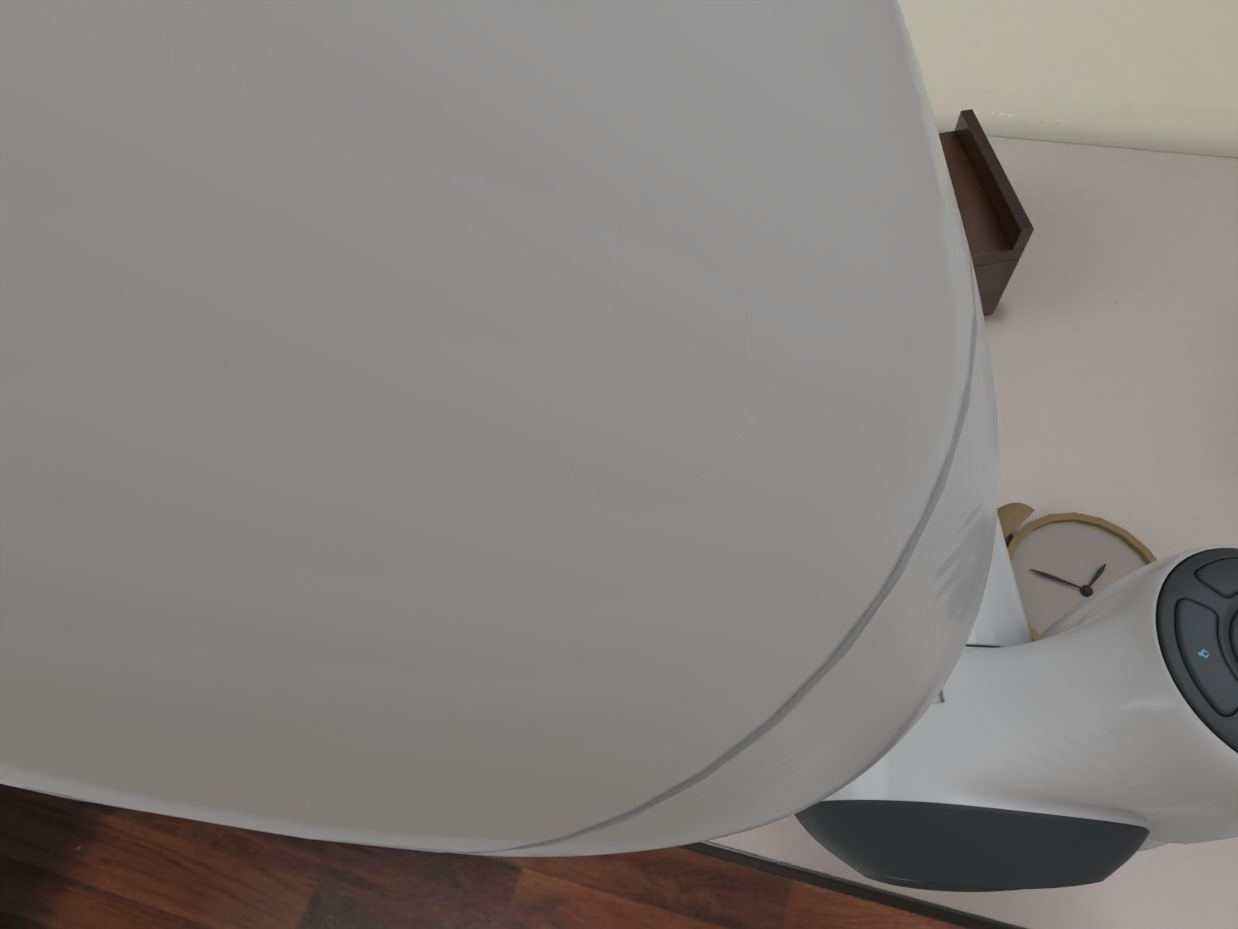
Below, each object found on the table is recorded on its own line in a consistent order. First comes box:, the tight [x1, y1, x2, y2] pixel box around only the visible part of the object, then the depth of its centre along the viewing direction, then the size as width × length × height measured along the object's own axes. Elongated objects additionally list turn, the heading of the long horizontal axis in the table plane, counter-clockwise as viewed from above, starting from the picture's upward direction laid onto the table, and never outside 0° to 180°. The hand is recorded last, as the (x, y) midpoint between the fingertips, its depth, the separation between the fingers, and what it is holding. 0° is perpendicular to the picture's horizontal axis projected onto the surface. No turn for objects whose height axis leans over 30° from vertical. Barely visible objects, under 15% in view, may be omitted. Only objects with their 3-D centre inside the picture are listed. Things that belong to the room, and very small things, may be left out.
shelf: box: [938, 108, 1035, 316], centre depth 69 cm, size 10×14×10 cm
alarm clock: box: [998, 502, 1158, 642], centre depth 56 cm, size 11×5×15 cm
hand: (979, 788), depth 49 cm, fingers closed on pill bottle, 6 cm apart
